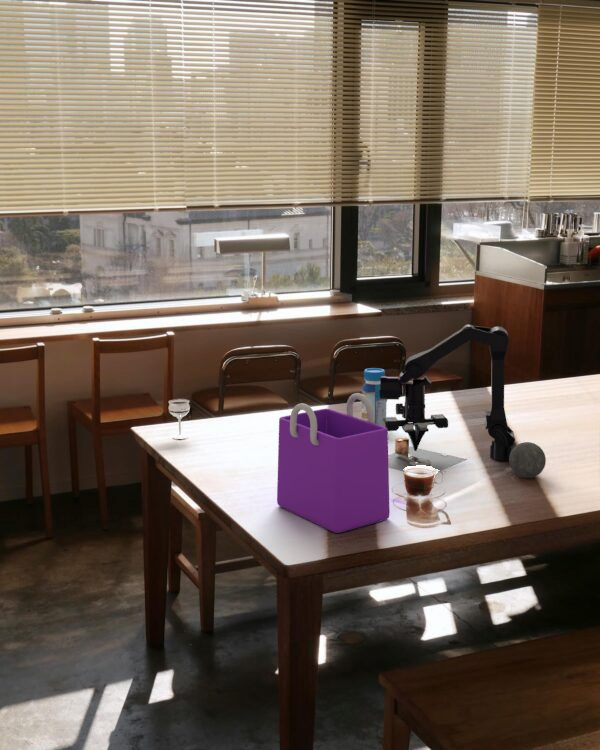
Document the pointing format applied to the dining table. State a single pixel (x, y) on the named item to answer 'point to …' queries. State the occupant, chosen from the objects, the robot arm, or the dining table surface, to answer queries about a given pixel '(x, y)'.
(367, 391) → the beverage bottle
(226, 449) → the dining table surface
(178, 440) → the dining table surface
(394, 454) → the mount plate
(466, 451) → the dining table surface
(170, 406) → the wineglass
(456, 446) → the dining table surface
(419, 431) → the robot arm
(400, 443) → the crank
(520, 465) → the decorative ball
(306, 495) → the shopping bag
